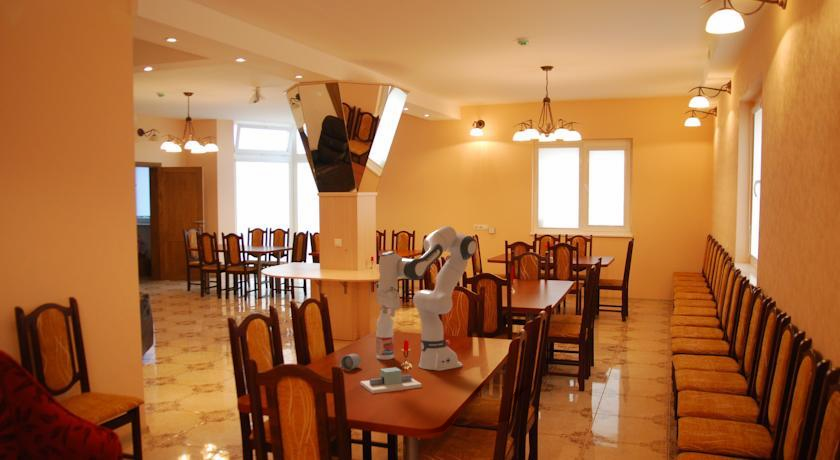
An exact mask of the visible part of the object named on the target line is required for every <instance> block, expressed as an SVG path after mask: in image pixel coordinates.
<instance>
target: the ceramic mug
mask: <svg viewBox="0 0 840 460" xmlns="http://www.w3.org/2000/svg"><path fill="white" fill-rule="evenodd" d="M361 362H362V359H361V357H360V355H359V354H357V353H350V354H345V355H344V356H342V357H341V360H340V363H339V364H338V367H339V368H340V367H341V368H342V369H343V370H345V371H351V370H354V369H356V368H358V367H359V366H360V365H361Z"/></svg>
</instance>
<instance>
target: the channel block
mask: <svg viewBox="0 0 840 460" xmlns="http://www.w3.org/2000/svg"><path fill="white" fill-rule="evenodd" d="M402 375H403V374H402V370H401V369H400V368H398V367H396V366H395V367H386V368H380V369H379V378H384V385H392V384H400V383H402Z"/></svg>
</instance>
